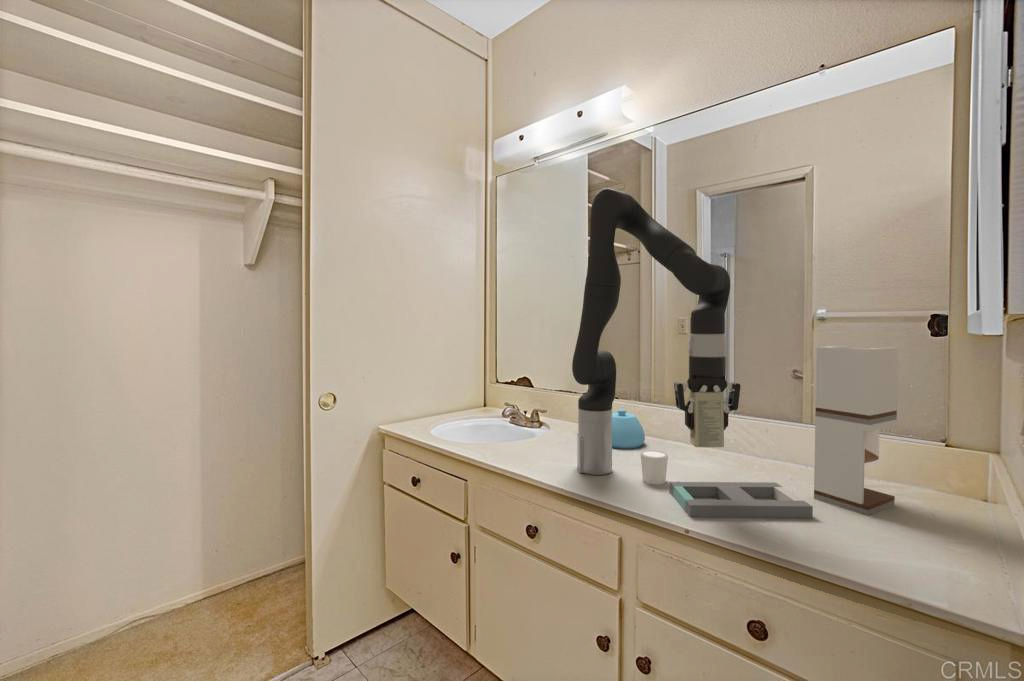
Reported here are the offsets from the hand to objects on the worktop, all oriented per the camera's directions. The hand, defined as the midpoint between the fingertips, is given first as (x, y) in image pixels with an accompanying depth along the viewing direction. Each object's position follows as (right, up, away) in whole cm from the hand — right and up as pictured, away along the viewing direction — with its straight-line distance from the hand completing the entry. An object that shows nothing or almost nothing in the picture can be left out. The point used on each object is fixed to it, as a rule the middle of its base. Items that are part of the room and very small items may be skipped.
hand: (706, 428), depth 100 cm
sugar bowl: (-6, -15, +52) cm, 55 cm away
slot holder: (+7, -17, 0) cm, 18 cm away
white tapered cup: (-7, -17, +16) cm, 24 cm away
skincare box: (0, -4, 0) cm, 4 cm away
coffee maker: (+34, -17, +1) cm, 38 cm away
